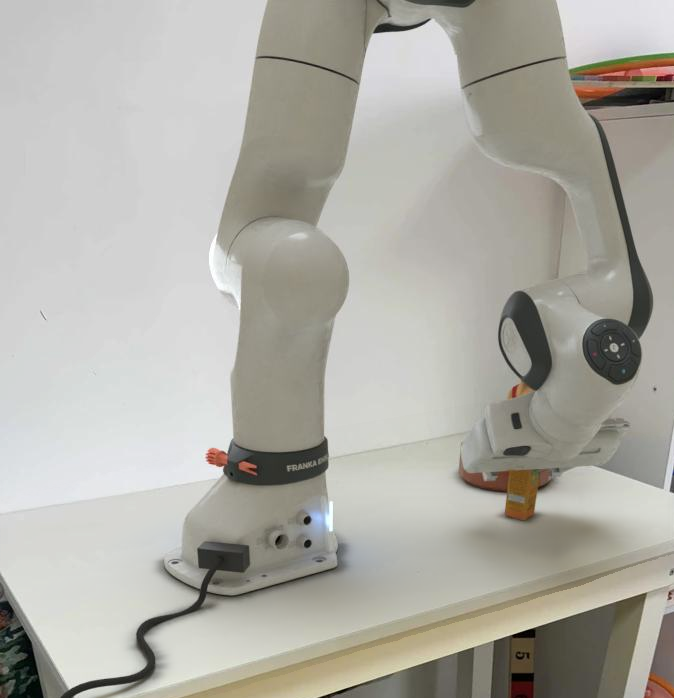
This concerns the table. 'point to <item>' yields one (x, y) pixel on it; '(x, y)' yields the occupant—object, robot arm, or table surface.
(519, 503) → the supplement box
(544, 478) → the bowl
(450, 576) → the table surface
